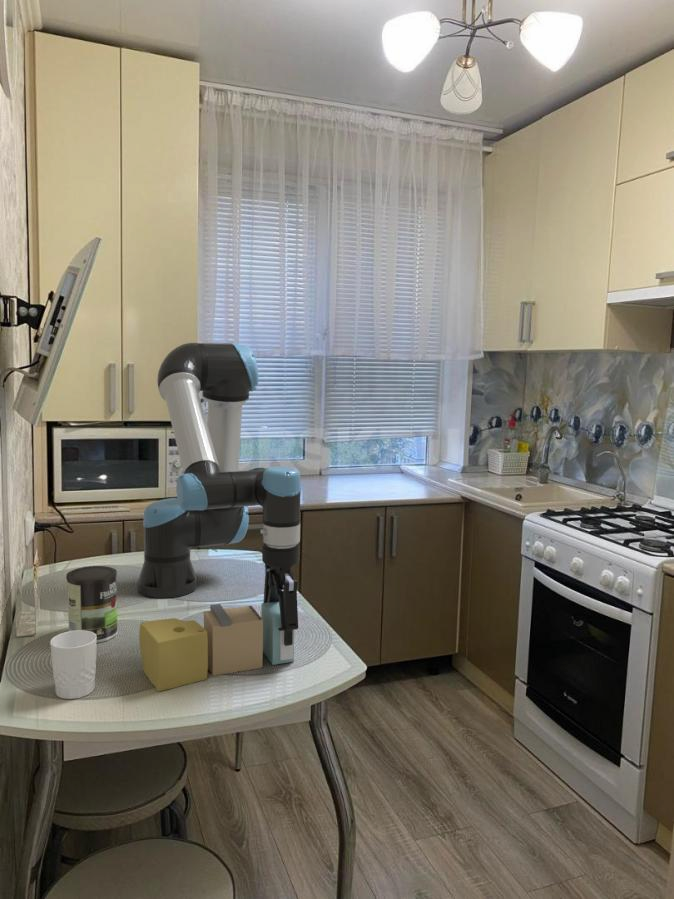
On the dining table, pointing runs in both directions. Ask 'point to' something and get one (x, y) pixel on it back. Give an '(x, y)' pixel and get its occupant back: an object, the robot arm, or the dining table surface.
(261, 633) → the slotted tan box
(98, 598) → the coffee can
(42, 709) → the dining table surface
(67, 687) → the white cup
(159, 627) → the cheese
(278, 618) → the light blue box
